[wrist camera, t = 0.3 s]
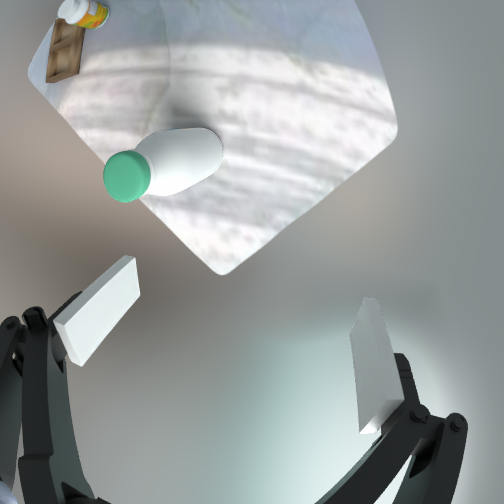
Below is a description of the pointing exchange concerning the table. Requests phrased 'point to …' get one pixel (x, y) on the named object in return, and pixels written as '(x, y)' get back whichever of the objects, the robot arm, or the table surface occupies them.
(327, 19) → the table surface
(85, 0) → the supplement bottle
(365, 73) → the table surface
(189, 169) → the milk bottle
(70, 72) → the compartment tray
